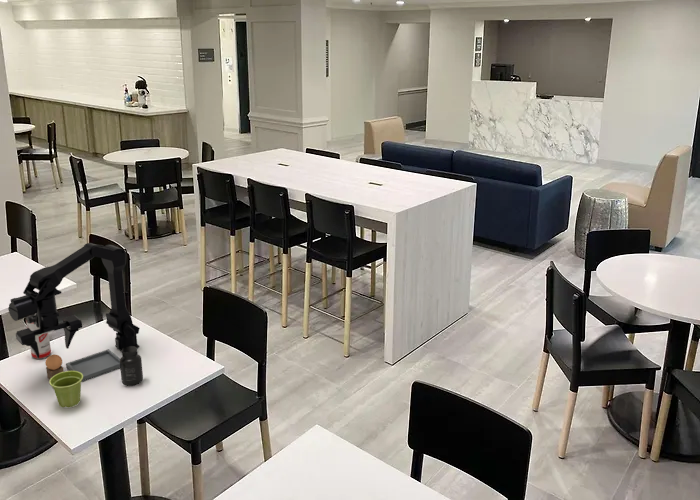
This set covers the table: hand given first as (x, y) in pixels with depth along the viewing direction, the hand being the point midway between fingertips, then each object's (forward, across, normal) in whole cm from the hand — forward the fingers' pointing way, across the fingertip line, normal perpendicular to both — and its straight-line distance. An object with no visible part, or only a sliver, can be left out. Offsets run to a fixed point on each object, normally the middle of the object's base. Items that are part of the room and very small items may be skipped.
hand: (52, 352), depth 197 cm
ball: (+3, 0, 0) cm, 3 cm away
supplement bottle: (+10, -17, +18) cm, 27 cm away
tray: (+10, -12, +2) cm, 16 cm away
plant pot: (+10, +3, +17) cm, 20 cm away
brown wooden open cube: (+9, 0, 0) cm, 9 cm away
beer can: (+10, -2, -18) cm, 20 cm away
